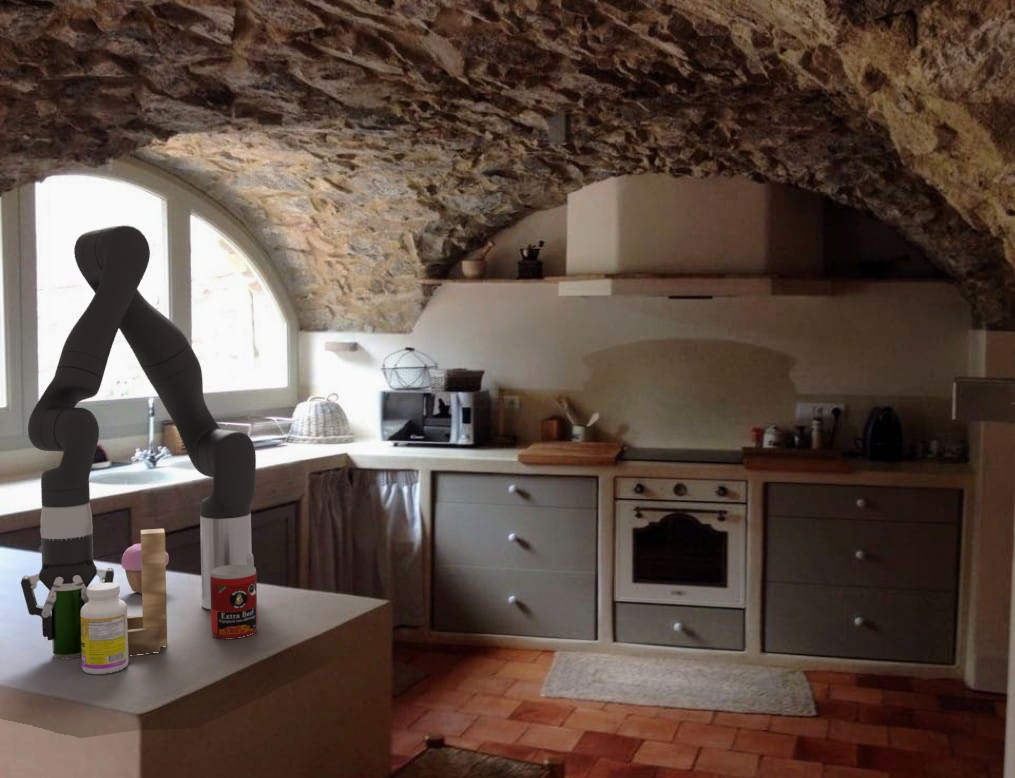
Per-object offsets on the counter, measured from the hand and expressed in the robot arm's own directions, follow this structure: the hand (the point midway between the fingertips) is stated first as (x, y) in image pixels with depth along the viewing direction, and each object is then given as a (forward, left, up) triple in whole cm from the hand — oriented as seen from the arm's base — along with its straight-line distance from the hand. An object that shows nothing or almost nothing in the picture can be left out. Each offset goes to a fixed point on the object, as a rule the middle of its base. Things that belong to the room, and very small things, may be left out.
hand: (70, 636), depth 159 cm
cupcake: (-13, -37, -3) cm, 39 cm away
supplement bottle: (-5, +9, -3) cm, 11 cm away
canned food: (-26, -2, -3) cm, 26 cm away
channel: (-8, 0, -3) cm, 9 cm away
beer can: (0, 0, -3) cm, 3 cm away
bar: (-13, 0, -3) cm, 13 cm away
